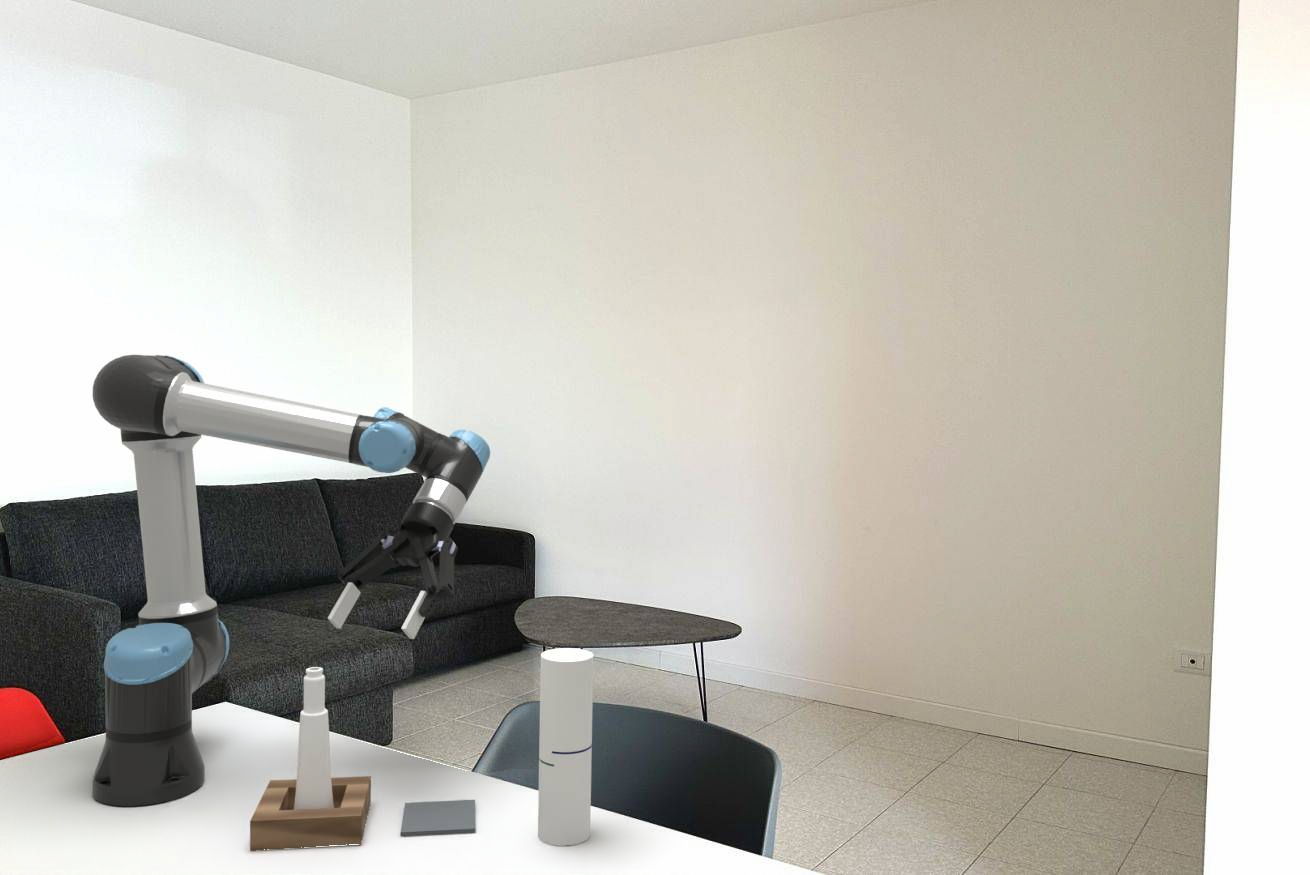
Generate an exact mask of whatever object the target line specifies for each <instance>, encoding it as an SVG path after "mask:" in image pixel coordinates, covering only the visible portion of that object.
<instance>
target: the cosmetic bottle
mask: <svg viewBox="0 0 1310 875" xmlns="http://www.w3.org/2000/svg"><path fill="white" fill-rule="evenodd" d="M323 672H324V668H322V667H320V666H319V667H318V666H312V667H308V668H306V669H305V674H306V675H304V677H303V709H302V710H301V711H300V718H299V730H298V749H297V750H298V751H297V766H296V768H297V769H296V779H297V782H296V794H295V803H294V810H301V809H323V808H334V803H333V795H332V783H331V778H332V772H331V770H332V768H331V752H330V751H331V746H330V745H331V744H330V743H331V742H330V726H329V724H330V723H329V711H328V709H327V708H326V706H325V705H326V704H325V703H326V702H325V701H326V695H325V694H326V678H325V674H323Z"/></svg>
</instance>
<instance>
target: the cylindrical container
mask: <svg viewBox="0 0 1310 875" xmlns="http://www.w3.org/2000/svg"><path fill="white" fill-rule="evenodd" d="M539 678H540V680H539V683H540V684H539V685H540V686H539V692H540V693H539V743H538V744H539V746H538V747H539V749H538V750H539V751H538V756H539V757H538V804H537V806H538V808H537V809H538V810H537V812H538V815H537V816H538V817H537V819H538V820H537V838H538V839H539V840H540V841H541V842H543V843H545V844H547V845H550V846H556V847H557V845H558V847H567V846H566V845H571V846H574V845H575V844H576V845H579V844H582V843H584V842H586V841H587V840H588V839H589V838H590V837H589V836H591V810H592V809H591V808H592V807H591V806H592V800H591V799H592V796H591V794H592V750H593V748H592V747H593V746H592V745H593V744H592V742H593V740H592V739H593V703H594V702H593V701H594V700H593V699H594V698H593V697H594V696H593V695H594V694H593V693H594V692H593V691H594V652H592V651H590V650H587V649H582V648H576V647H575V648H574V647H562V648H561V647H560V648H552V649H548V650H545V651H543V652H541V654H540V677H539Z"/></svg>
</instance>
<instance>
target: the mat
mask: <svg viewBox="0 0 1310 875" xmlns="http://www.w3.org/2000/svg"><path fill="white" fill-rule="evenodd" d="M456 834H458V835H460V834H476V799H458V800H457V799H456V800H439V801H438V800H435V801H416V802H414V801H413V802H405V803H404V807H403V814H402V821H401V827H400V836H404V837H421V836H436V835H439V836H440V835H442V836H443V835H456ZM400 836H399V837H400Z"/></svg>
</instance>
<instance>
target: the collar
mask: <svg viewBox="0 0 1310 875" xmlns="http://www.w3.org/2000/svg"><path fill="white" fill-rule="evenodd" d="M296 782H297V778H296V779H295V778H294V779H271V780H269V782H268V784H267V785H266V788H265V790H264V792H263V793H262V796H261V799H260V800H259V802H258V804H257V806H256V808H255V810H254V813H253V814H252V816H251V818H250V820H249V851H250V852H253V851H254V852H256V850H260V851H268V850H267V849H279V850H285V849H284V848H298V849H305V848H304V847H316V846H329V845H346V844H347V845H349V844H361V845H362V842H363V838H364V834H363V833H365V830H364V829H366V825H367V821H368V817H367V816H369V812H368V811H370V808H371V807H370V806H371V804H370V803H371V802H372V801H371V798H372V796H371V795H372V776H371V775H367V776H366V775H365V776H364V775H363V776H342V777H341V776H339V777H331V783H332V795H333V803H334V808H323V809H301V810H294V803H295V794H296ZM369 807H370V808H369ZM366 820H367V821H366ZM365 824H366V825H365ZM362 837H363V838H362ZM361 841H362V842H361ZM301 847H302V848H301ZM264 849H265V850H264Z"/></svg>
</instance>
